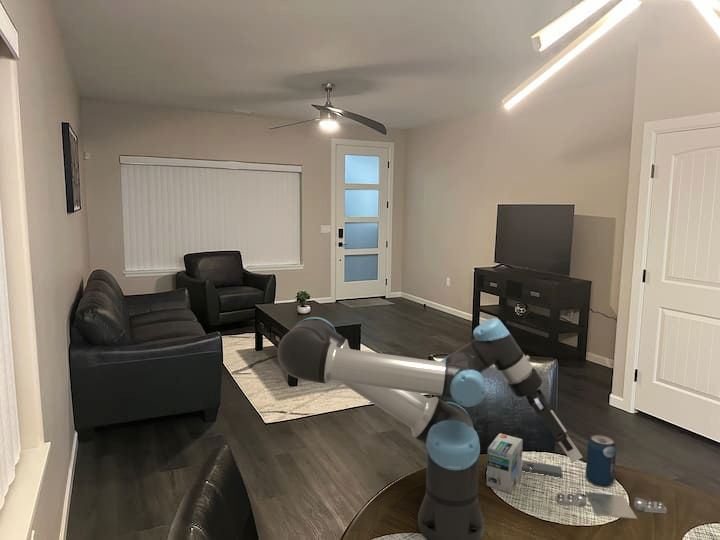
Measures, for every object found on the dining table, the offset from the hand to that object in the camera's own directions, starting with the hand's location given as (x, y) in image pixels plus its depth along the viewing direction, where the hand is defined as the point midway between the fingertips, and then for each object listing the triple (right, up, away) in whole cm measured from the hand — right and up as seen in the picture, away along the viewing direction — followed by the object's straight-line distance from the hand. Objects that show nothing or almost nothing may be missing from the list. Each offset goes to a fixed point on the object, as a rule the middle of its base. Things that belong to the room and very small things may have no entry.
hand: (569, 445), depth 125 cm
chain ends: (+11, -15, +1) cm, 19 cm away
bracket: (-1, -14, +17) cm, 22 cm away
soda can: (+13, -14, +12) cm, 23 cm away
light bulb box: (-12, -14, +13) cm, 23 cm away
